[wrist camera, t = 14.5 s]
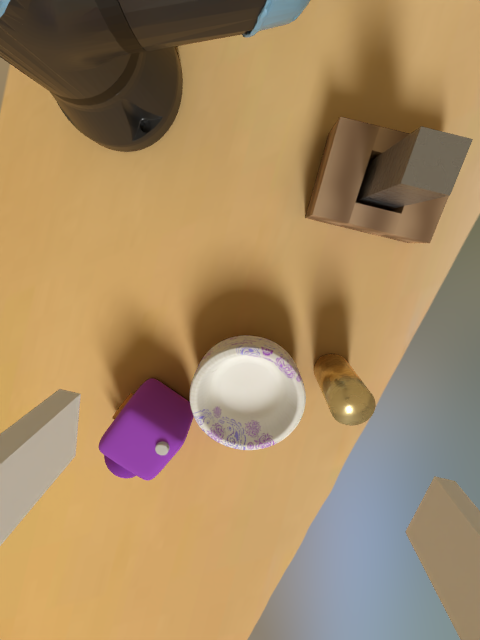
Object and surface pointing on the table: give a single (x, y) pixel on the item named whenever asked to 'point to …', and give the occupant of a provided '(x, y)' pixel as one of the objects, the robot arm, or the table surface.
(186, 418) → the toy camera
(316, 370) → the cylinder
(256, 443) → the paper bowls
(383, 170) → the square bit
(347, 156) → the bore block
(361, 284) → the table surface
